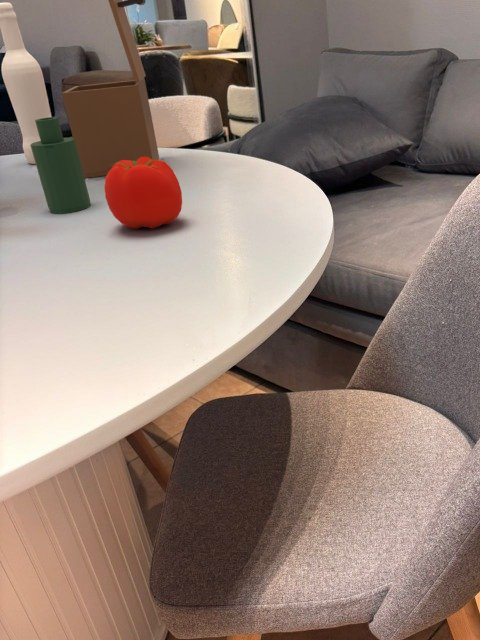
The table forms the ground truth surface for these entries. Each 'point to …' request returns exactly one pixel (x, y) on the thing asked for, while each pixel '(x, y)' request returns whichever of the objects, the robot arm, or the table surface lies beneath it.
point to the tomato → (143, 193)
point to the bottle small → (59, 168)
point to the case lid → (128, 36)
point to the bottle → (22, 81)
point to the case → (110, 124)
